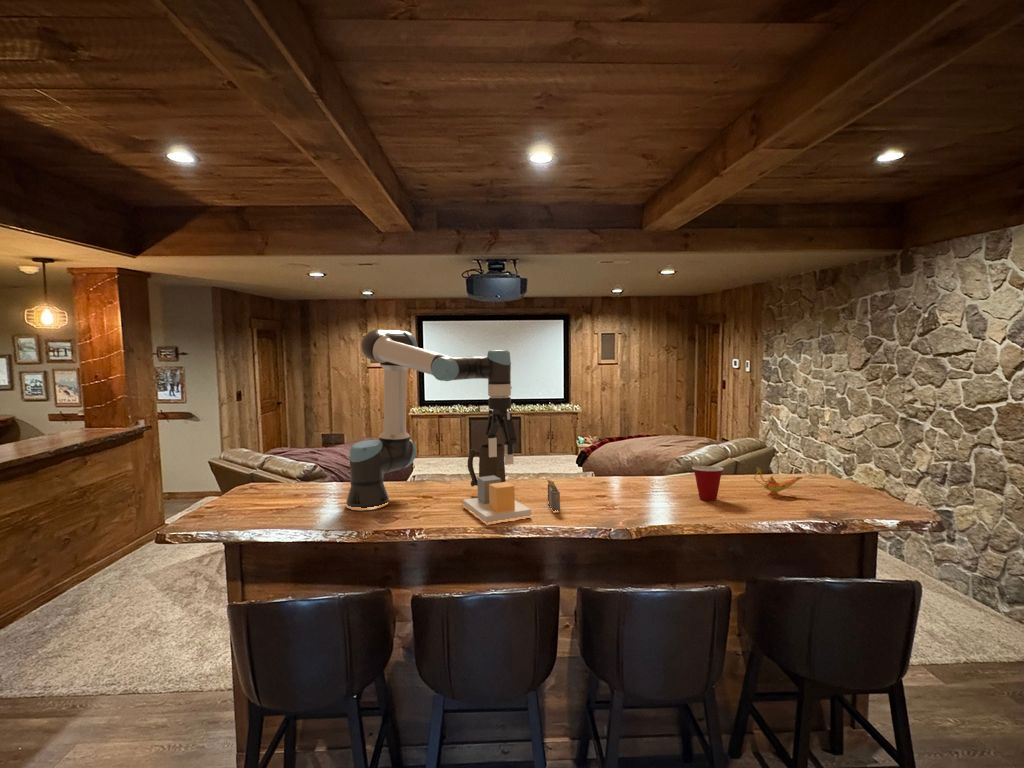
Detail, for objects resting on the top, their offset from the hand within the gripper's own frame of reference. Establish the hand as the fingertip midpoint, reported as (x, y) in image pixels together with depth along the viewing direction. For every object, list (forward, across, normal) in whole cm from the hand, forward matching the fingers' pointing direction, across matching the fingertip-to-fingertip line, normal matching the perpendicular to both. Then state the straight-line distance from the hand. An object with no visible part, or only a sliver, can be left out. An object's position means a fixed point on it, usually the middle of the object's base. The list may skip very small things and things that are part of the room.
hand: (500, 460), depth 171 cm
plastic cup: (+19, -17, -75) cm, 79 cm away
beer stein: (+20, +28, -6) cm, 35 cm away
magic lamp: (+19, -26, -101) cm, 106 cm away
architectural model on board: (+20, 0, -20) cm, 28 cm away
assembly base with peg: (+19, +5, 0) cm, 20 cm away
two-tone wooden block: (+16, 0, 0) cm, 16 cm away
